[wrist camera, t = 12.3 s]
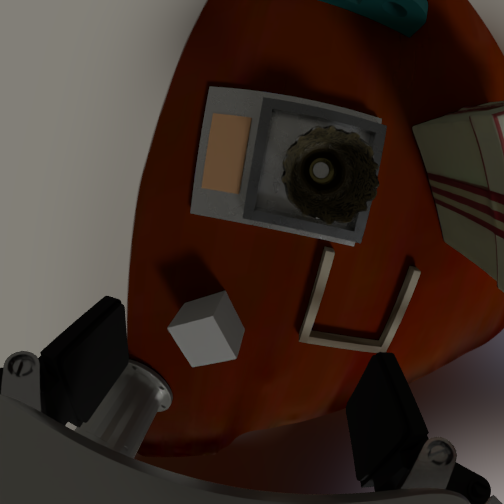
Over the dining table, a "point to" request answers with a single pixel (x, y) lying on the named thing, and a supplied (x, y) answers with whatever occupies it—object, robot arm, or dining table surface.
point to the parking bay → (347, 341)
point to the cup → (330, 174)
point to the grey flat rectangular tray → (269, 159)
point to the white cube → (208, 330)
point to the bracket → (389, 12)
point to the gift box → (469, 181)
